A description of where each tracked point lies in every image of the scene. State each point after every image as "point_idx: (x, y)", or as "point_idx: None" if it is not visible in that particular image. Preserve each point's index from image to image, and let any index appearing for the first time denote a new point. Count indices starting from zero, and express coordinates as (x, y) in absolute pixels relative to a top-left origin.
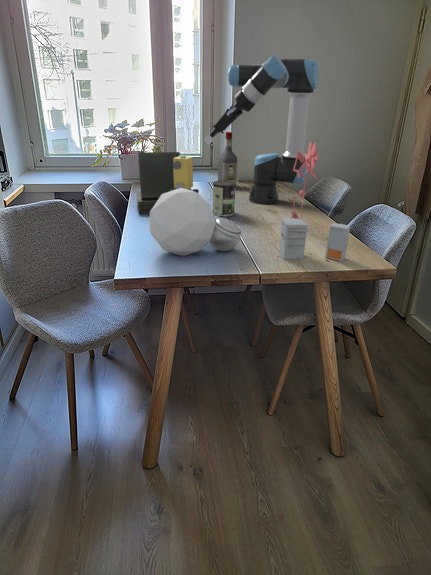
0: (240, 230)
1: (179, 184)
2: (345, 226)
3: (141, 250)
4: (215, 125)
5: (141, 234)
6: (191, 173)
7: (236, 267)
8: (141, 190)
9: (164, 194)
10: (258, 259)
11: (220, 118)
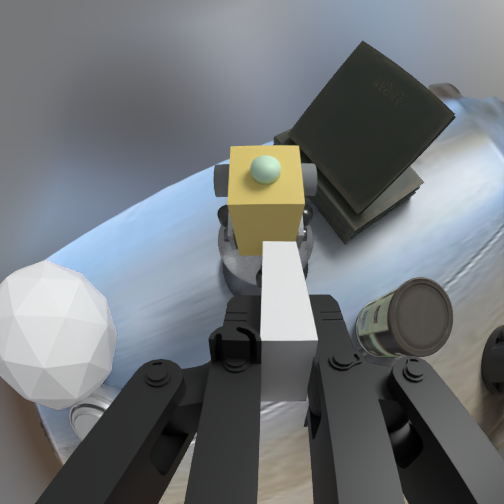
0: None
1: (228, 225)
2: None
3: (77, 267)
4: (125, 392)
5: (148, 224)
6: (282, 235)
7: (69, 441)
8: (298, 120)
9: (1, 286)
10: None
11: (43, 495)
